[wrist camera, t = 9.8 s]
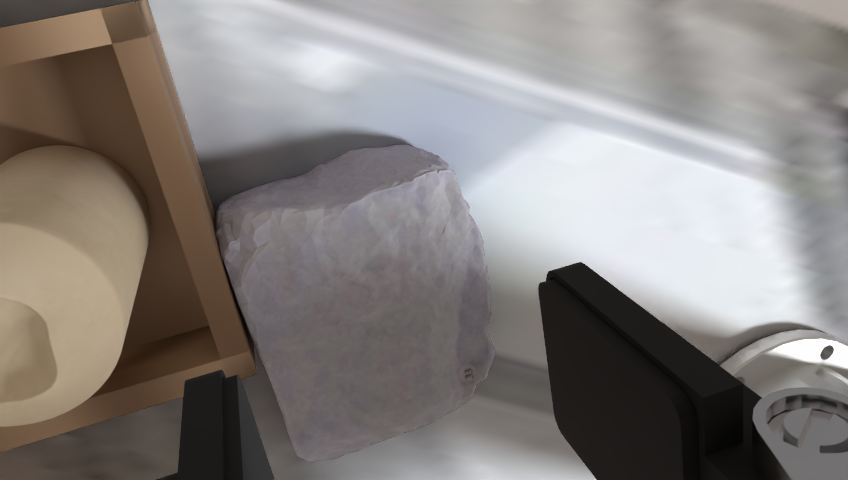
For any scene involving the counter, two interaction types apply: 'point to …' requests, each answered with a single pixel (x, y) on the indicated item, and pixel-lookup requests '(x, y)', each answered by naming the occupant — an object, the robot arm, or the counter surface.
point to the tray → (160, 184)
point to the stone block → (361, 295)
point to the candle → (65, 277)
